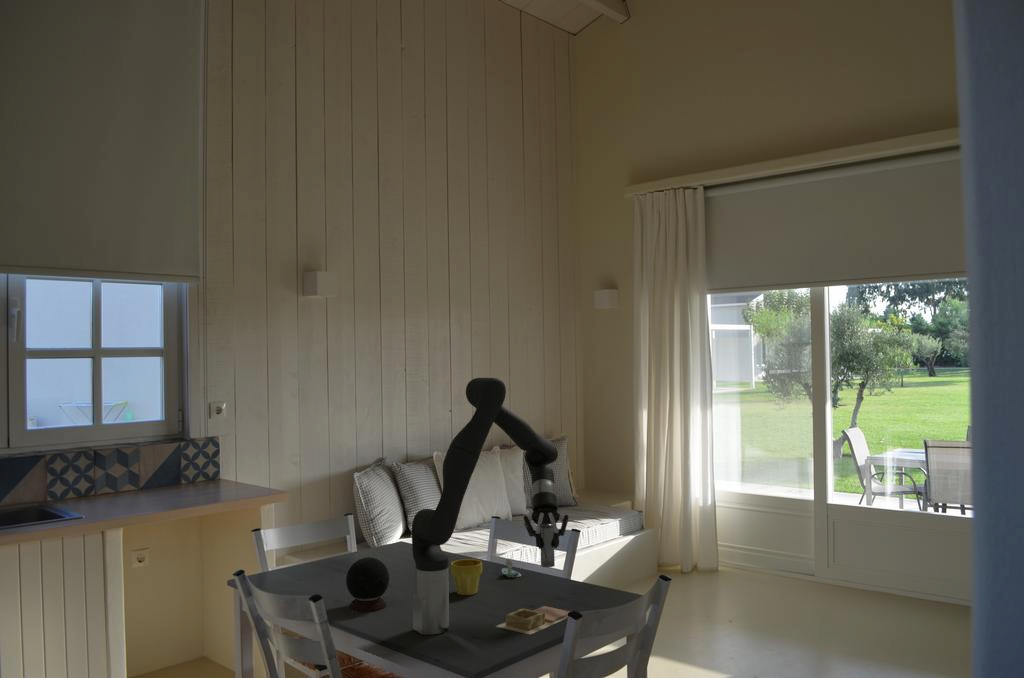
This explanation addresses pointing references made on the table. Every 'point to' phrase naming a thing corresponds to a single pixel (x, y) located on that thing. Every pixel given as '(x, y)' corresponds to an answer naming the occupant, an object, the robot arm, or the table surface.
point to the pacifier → (510, 570)
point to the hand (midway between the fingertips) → (547, 546)
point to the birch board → (533, 619)
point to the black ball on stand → (367, 584)
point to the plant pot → (466, 575)
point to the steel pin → (547, 544)
